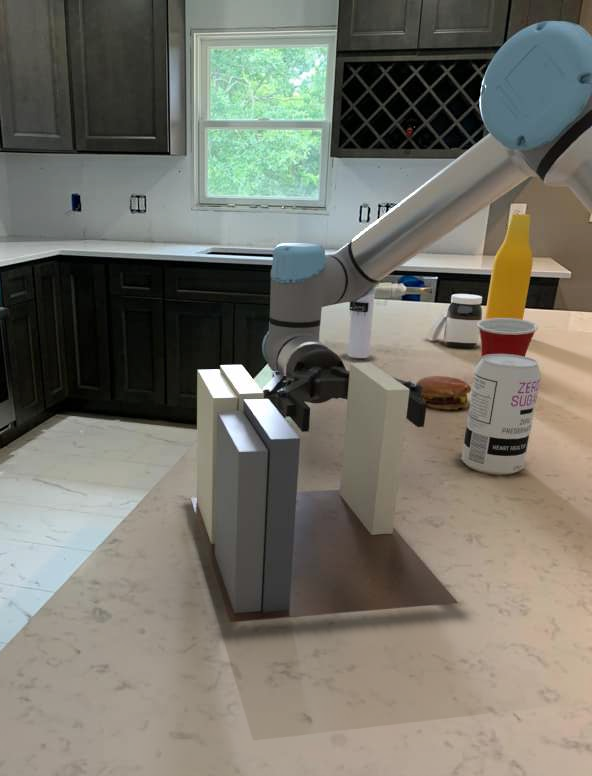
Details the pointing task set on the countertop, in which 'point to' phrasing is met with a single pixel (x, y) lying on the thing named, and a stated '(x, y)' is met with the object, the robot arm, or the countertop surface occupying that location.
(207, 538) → the shelf board
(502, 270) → the beer bottle
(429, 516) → the countertop surface
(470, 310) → the spread jar
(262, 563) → the grey books
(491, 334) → the plastic cup
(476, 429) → the supplement can
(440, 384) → the burger
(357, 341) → the perfume bottle
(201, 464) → the cream books
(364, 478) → the cream book
